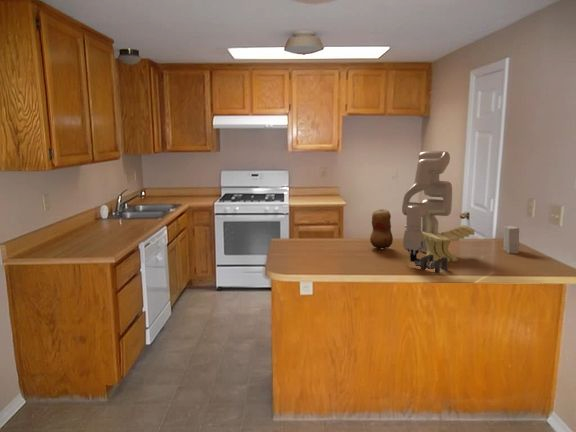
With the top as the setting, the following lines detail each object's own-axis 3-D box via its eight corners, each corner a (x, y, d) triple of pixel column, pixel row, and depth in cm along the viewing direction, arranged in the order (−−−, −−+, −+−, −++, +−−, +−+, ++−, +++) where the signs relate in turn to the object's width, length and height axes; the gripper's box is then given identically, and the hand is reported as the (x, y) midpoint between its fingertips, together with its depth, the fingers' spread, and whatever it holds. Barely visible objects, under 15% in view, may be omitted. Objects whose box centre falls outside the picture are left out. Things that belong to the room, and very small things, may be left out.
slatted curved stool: (460, 253, 268) (461, 223, 265) (473, 260, 253) (474, 229, 249) (410, 256, 266) (411, 226, 263) (420, 264, 251) (420, 232, 247)
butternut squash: (368, 251, 281) (367, 211, 276) (372, 245, 293) (372, 207, 288) (390, 252, 276) (390, 212, 271) (394, 246, 288) (394, 208, 283)
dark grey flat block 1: (420, 269, 239) (420, 258, 238) (429, 265, 245) (429, 254, 244) (424, 270, 238) (424, 258, 237) (433, 266, 244) (433, 254, 243)
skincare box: (518, 253, 263) (520, 228, 260) (508, 253, 263) (509, 228, 260) (512, 249, 271) (514, 225, 268) (502, 249, 272) (503, 225, 269)
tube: (414, 266, 245) (414, 259, 244) (418, 264, 248) (418, 257, 247) (431, 270, 238) (431, 262, 237) (435, 268, 240) (435, 260, 240)
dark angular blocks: (434, 272, 233) (434, 258, 232) (443, 268, 240) (443, 254, 238) (438, 273, 232) (438, 259, 231) (447, 269, 238) (447, 255, 237)
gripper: (397, 227, 246) (397, 260, 250) (422, 231, 236) (421, 265, 239) (405, 225, 251) (405, 257, 255) (430, 228, 241) (429, 262, 244)
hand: (413, 261), depth 247 cm, fingers closed
